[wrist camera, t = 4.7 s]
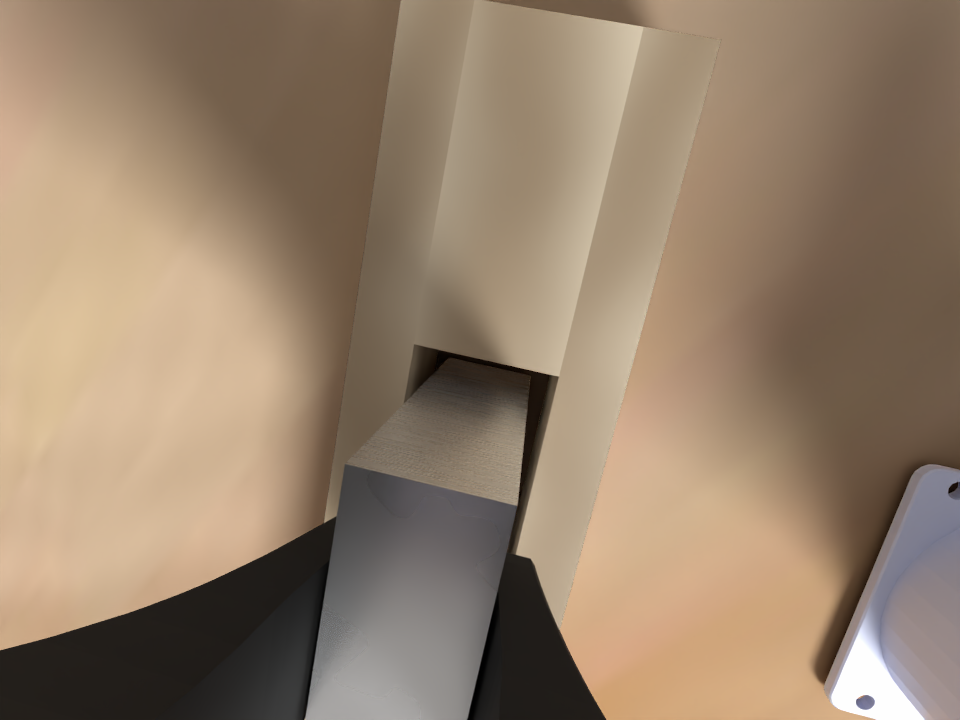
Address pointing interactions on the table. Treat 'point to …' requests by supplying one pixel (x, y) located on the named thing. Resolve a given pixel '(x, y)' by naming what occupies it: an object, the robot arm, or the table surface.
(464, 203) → the post beam
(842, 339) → the table surface
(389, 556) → the rectangular metal block
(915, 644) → the robot arm
